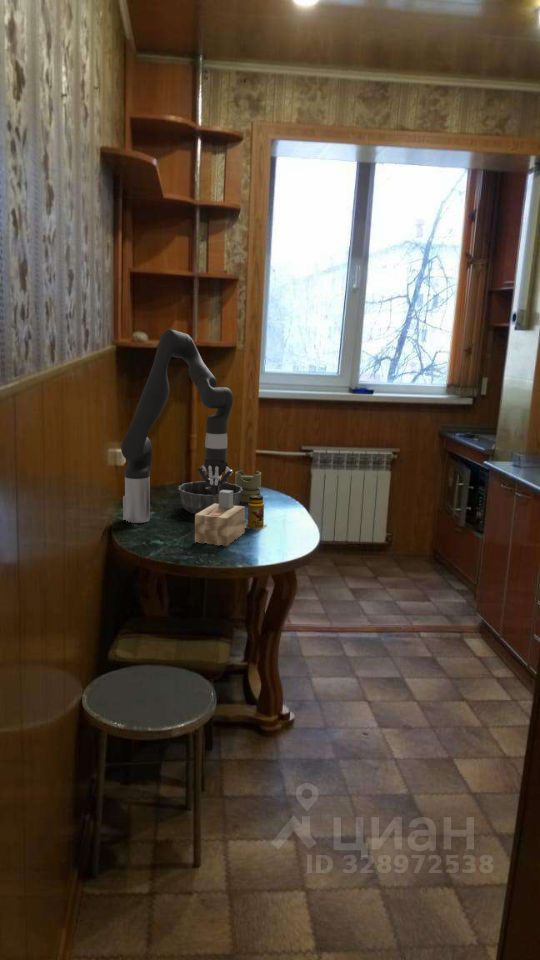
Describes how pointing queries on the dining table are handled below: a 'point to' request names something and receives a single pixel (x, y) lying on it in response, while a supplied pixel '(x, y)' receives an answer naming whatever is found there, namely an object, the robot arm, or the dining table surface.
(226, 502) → the peg grey
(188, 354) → the robot arm
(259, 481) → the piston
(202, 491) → the bundt pan
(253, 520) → the condiment
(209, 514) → the peg terracotta
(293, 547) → the dining table surface
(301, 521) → the dining table surface
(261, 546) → the dining table surface
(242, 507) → the oak block
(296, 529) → the dining table surface
